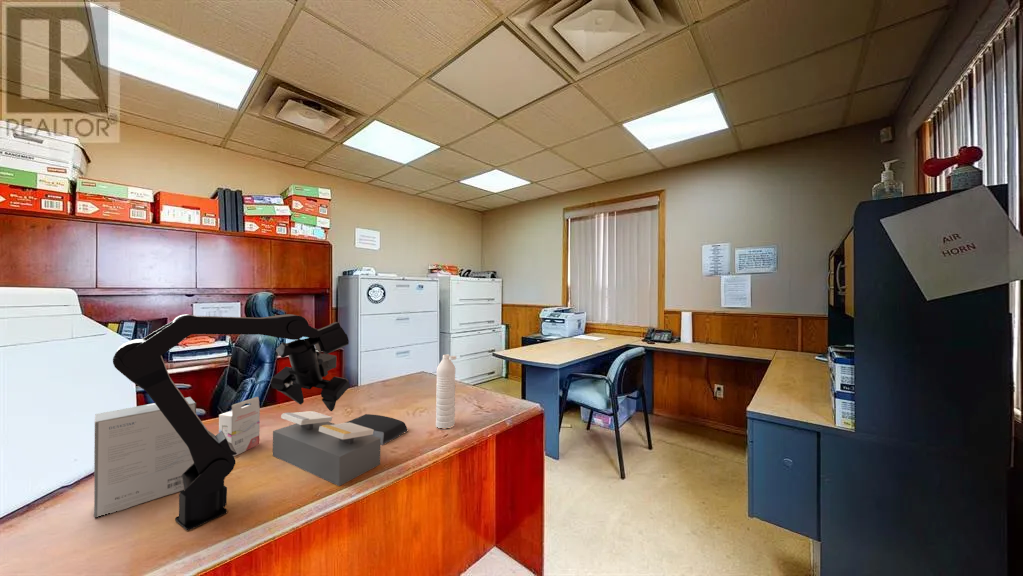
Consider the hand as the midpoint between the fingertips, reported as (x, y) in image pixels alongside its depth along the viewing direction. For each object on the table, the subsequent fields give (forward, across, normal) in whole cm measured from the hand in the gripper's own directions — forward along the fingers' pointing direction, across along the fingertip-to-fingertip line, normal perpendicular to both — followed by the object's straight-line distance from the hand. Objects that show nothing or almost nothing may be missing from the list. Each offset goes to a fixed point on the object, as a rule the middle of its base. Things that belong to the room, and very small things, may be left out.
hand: (317, 406), depth 92 cm
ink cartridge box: (+19, +25, +6) cm, 32 cm away
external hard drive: (+24, -6, -12) cm, 27 cm away
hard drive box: (+9, +25, +26) cm, 37 cm away
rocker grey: (+8, +7, -2) cm, 11 cm away
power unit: (+15, -3, +5) cm, 16 cm away
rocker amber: (+4, -10, +2) cm, 11 cm away
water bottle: (+25, -28, -22) cm, 43 cm away
